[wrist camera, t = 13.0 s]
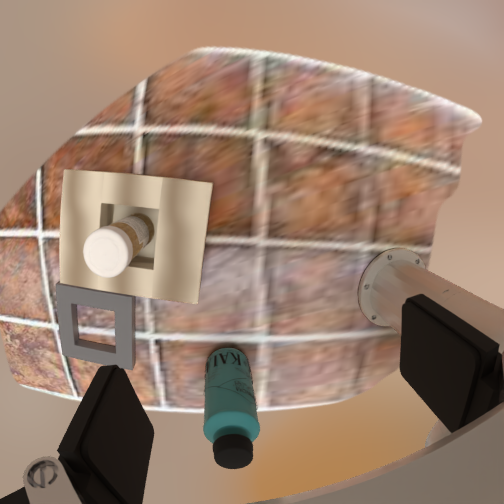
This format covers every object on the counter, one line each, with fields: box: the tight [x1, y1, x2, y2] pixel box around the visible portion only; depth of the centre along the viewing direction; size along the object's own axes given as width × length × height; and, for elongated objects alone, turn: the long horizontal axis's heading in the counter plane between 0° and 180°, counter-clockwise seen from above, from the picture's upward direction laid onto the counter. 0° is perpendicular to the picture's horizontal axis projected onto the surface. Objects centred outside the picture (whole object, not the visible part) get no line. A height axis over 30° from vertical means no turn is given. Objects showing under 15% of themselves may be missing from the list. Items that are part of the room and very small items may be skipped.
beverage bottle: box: [203, 348, 260, 469], centre depth 35 cm, size 6×7×20 cm
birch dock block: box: [60, 170, 213, 304], centre depth 36 cm, size 18×14×6 cm
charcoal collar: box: [56, 281, 135, 370], centre depth 41 cm, size 12×12×2 cm
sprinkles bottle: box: [83, 213, 154, 278], centre depth 32 cm, size 5×5×14 cm
